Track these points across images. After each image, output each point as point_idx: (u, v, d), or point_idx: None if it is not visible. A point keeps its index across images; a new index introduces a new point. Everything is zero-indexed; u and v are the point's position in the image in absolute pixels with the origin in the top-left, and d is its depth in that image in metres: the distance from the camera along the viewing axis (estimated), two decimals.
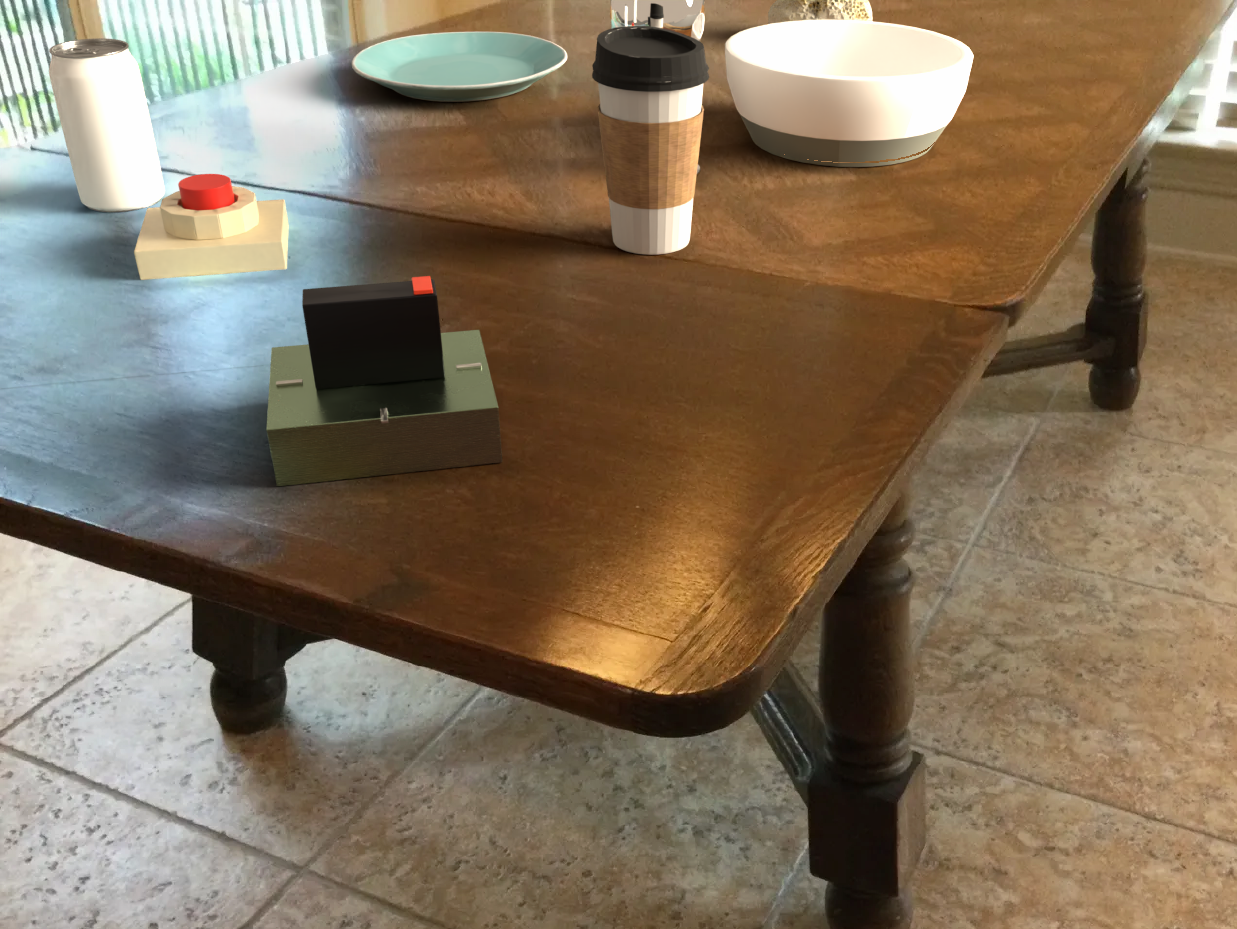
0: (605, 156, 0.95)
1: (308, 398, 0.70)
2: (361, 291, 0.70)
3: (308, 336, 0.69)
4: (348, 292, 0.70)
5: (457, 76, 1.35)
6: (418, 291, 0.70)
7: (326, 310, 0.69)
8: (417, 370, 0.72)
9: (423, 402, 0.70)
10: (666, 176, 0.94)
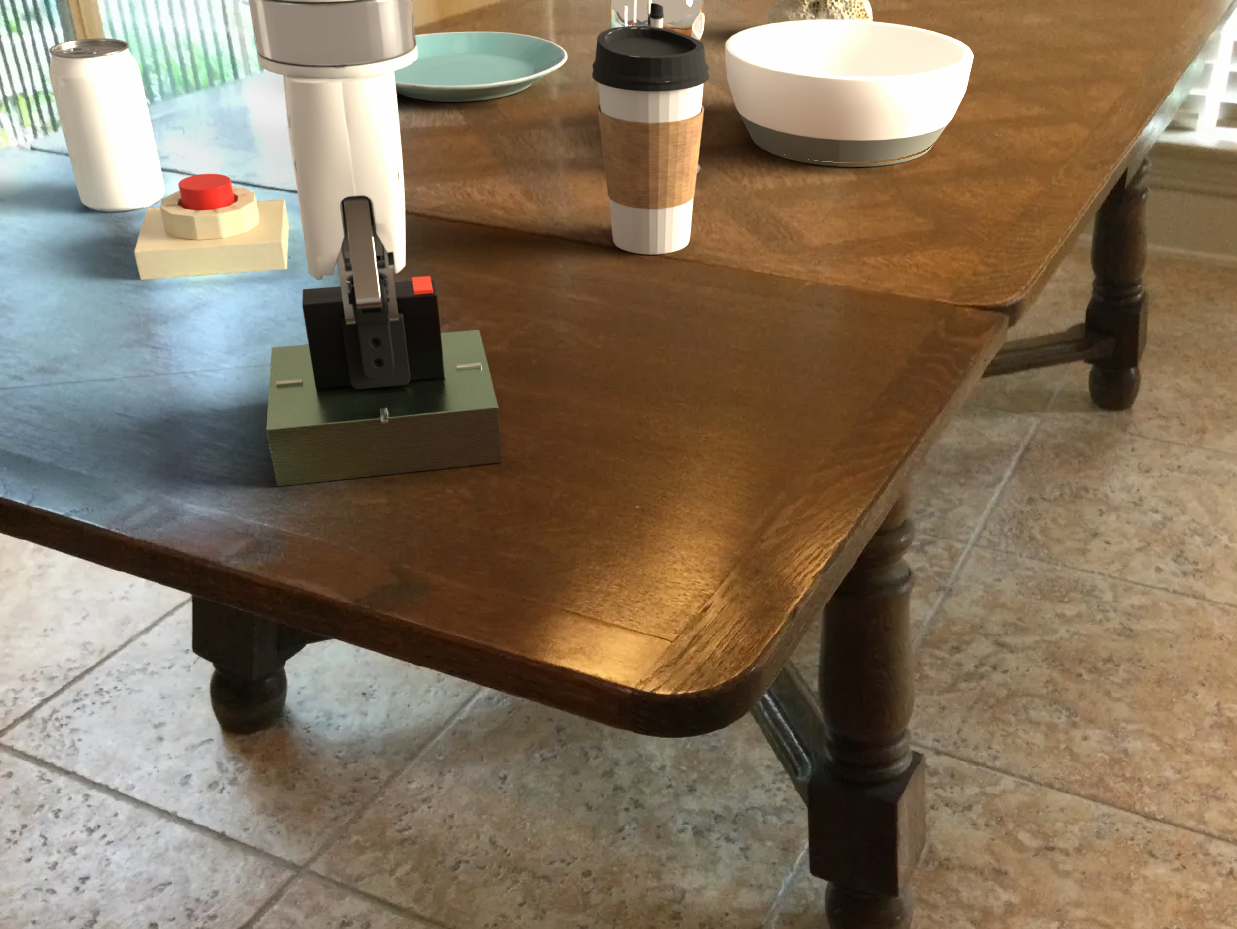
0: (605, 156, 0.95)
1: (308, 398, 0.70)
2: None
3: (308, 336, 0.69)
4: None
5: (457, 76, 1.35)
6: (418, 291, 0.70)
7: (326, 310, 0.69)
8: (417, 370, 0.72)
9: (423, 402, 0.70)
10: (666, 176, 0.94)
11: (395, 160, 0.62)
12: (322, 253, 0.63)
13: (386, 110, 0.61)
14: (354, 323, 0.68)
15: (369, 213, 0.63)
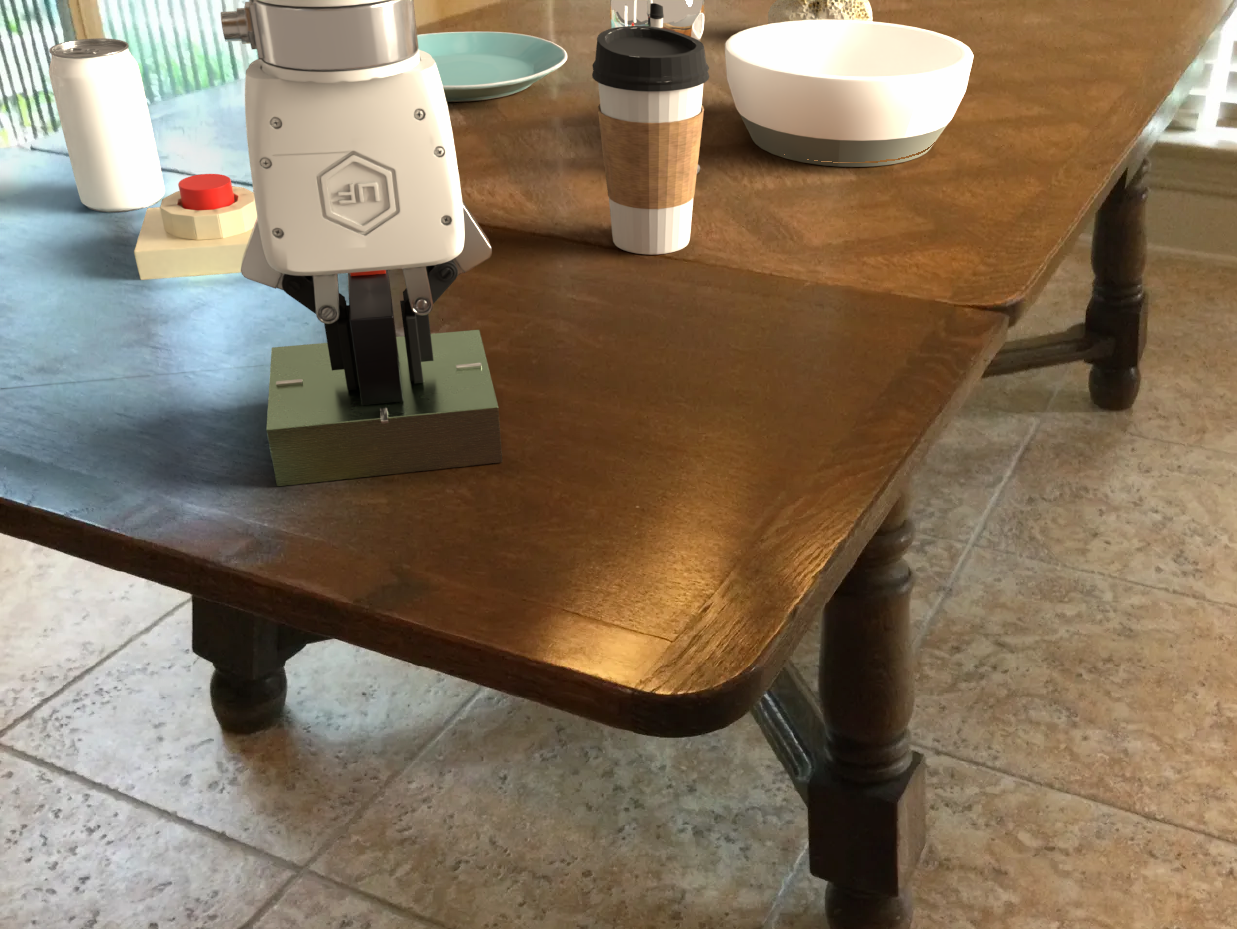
0: (605, 156, 0.95)
1: (308, 398, 0.70)
2: (369, 294, 0.70)
3: (396, 347, 0.69)
4: (368, 299, 0.69)
5: (457, 76, 1.35)
6: None
7: None
8: (397, 347, 0.74)
9: (423, 402, 0.70)
10: (666, 176, 0.94)
11: None
12: None
13: None
14: None
15: None
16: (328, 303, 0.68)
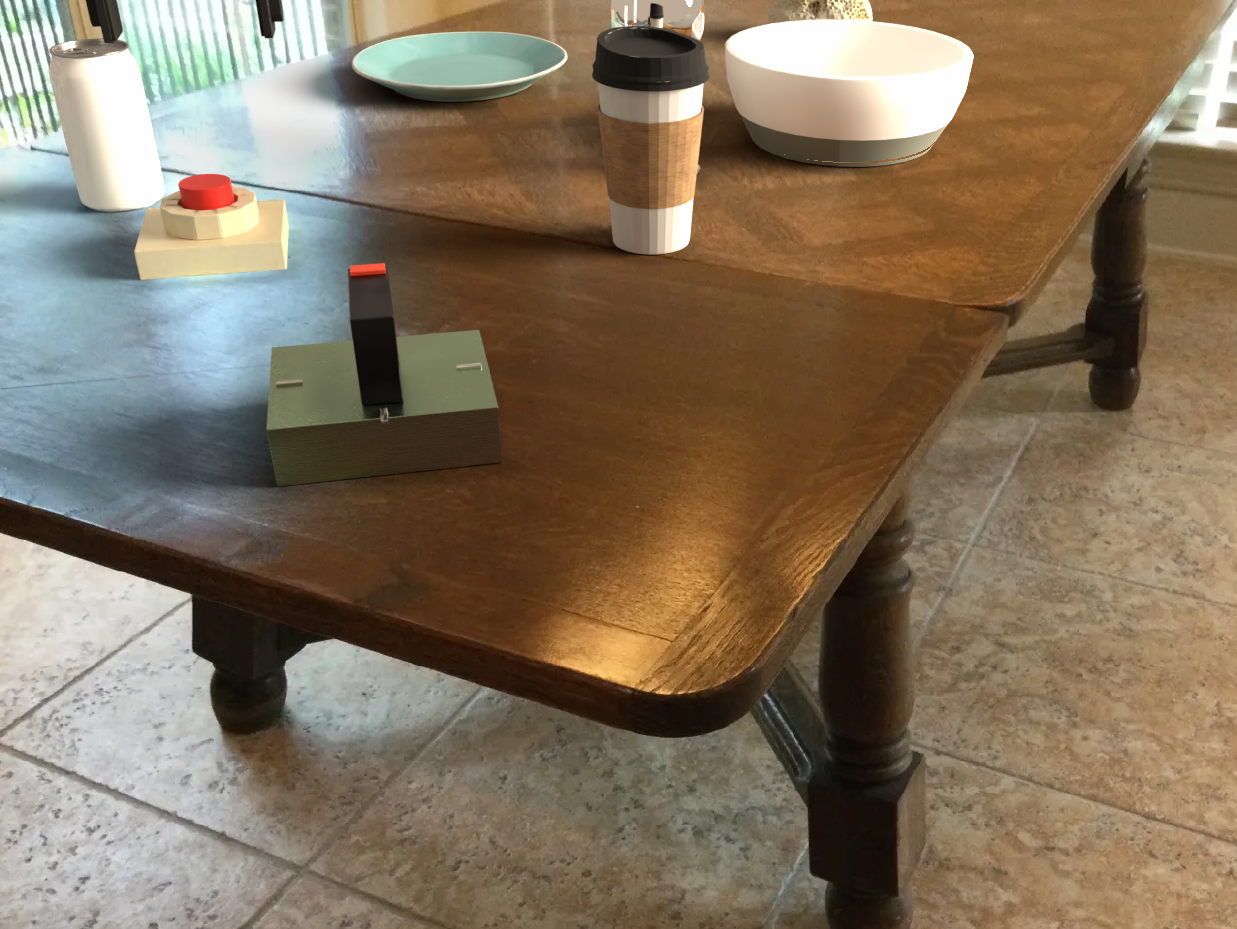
0: (605, 156, 0.95)
1: (308, 398, 0.70)
2: (369, 294, 0.70)
3: (396, 347, 0.69)
4: (368, 299, 0.69)
5: (457, 76, 1.35)
6: (385, 269, 0.72)
7: None
8: (397, 347, 0.74)
9: (423, 402, 0.70)
10: (666, 176, 0.94)
11: None
12: None
13: None
14: None
15: None
16: None
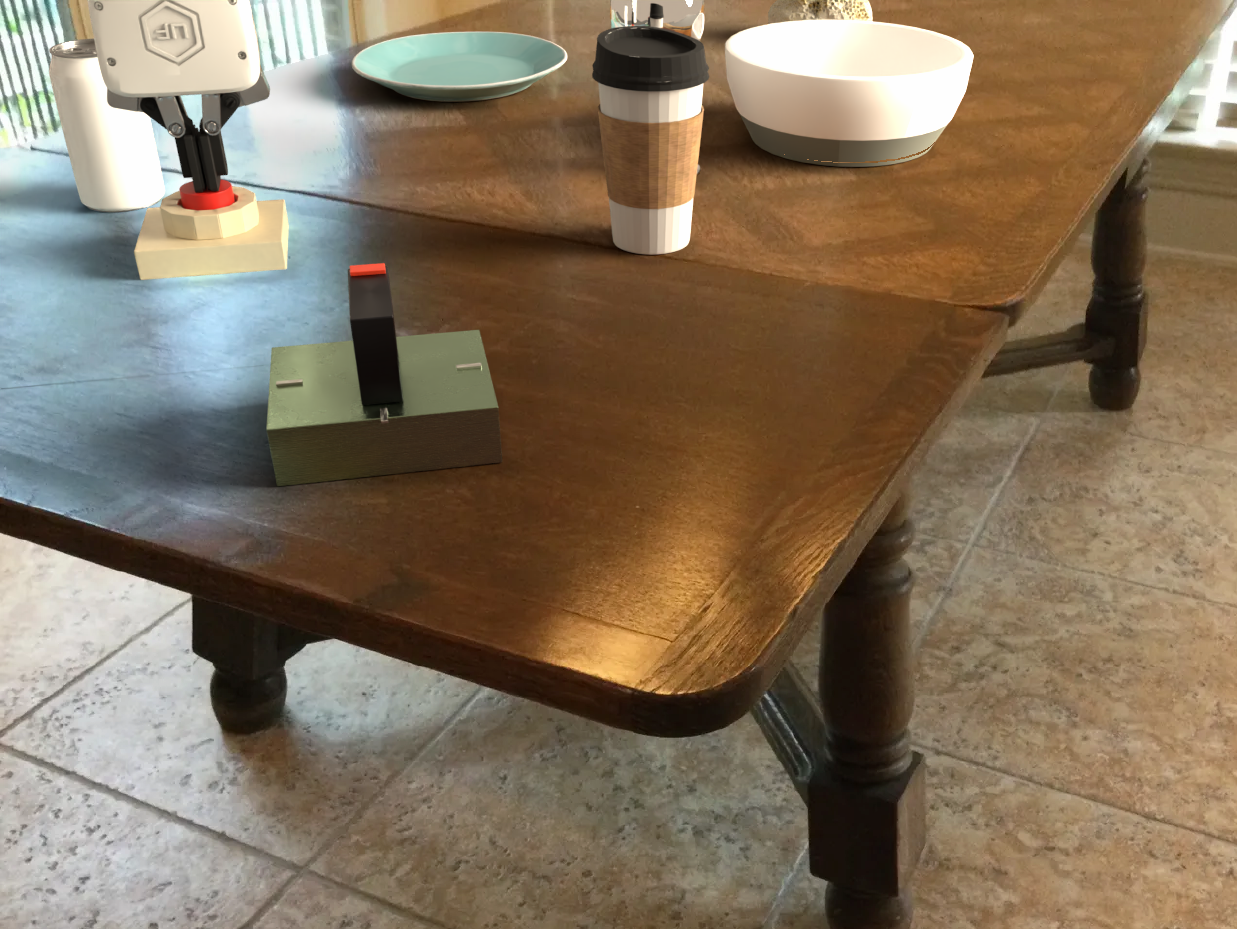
0: (605, 156, 0.95)
1: (308, 398, 0.70)
2: (369, 294, 0.70)
3: (396, 347, 0.69)
4: (368, 299, 0.69)
5: (457, 76, 1.35)
6: (385, 269, 0.72)
7: None
8: (397, 347, 0.74)
9: (423, 402, 0.70)
10: (666, 176, 0.94)
11: None
12: (257, 60, 0.89)
13: None
14: (219, 130, 0.91)
15: None
16: (174, 120, 0.90)
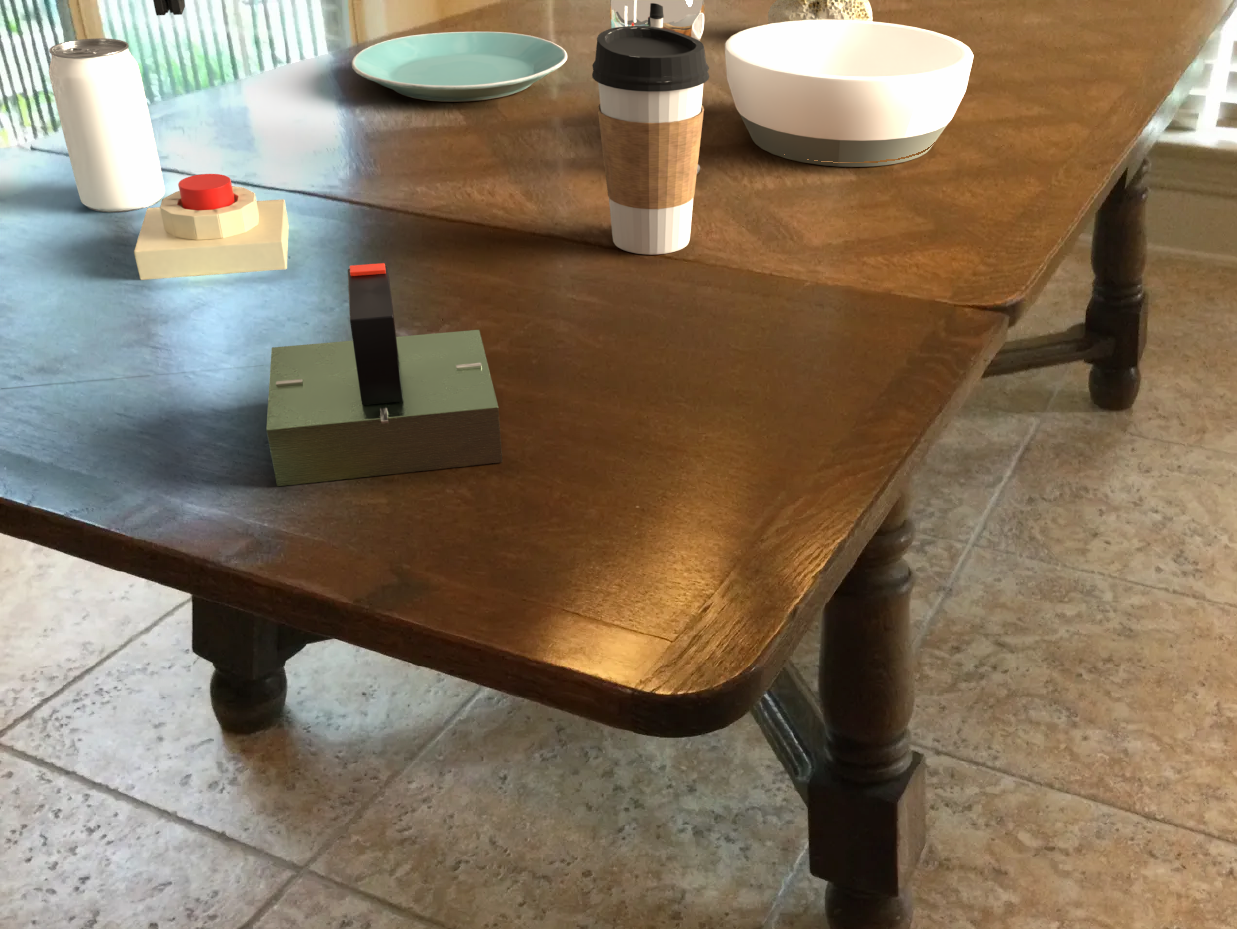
0: (605, 156, 0.95)
1: (308, 398, 0.70)
2: (369, 294, 0.70)
3: (396, 347, 0.69)
4: (368, 299, 0.69)
5: (457, 76, 1.35)
6: (385, 269, 0.72)
7: None
8: (397, 347, 0.74)
9: (423, 402, 0.70)
10: (666, 176, 0.94)
11: None
12: None
13: None
14: None
15: None
16: None
